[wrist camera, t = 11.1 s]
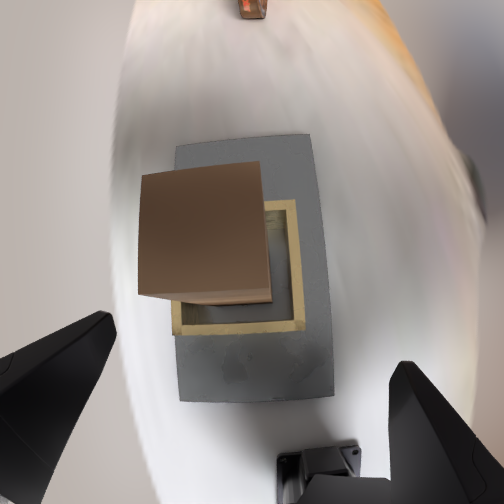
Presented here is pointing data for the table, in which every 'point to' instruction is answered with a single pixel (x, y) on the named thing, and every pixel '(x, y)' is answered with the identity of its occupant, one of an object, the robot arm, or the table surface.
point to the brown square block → (204, 236)
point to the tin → (253, 8)
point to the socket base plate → (283, 290)
